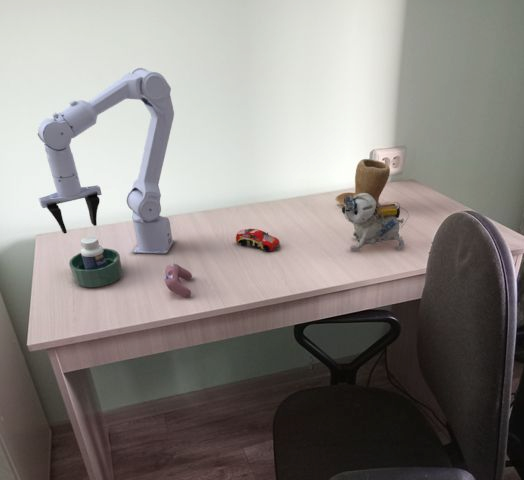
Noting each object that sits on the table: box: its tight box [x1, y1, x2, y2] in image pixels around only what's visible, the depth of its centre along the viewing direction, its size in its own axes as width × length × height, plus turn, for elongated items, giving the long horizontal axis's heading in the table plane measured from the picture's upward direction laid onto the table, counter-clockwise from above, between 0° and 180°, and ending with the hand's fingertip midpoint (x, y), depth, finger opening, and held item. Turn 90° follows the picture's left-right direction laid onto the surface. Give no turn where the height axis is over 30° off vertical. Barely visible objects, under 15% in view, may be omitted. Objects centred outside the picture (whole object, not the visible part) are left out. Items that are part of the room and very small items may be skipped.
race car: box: [235, 228, 281, 253], centre depth 137 cm, size 13×5×4 cm, turn 57°
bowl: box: [68, 248, 124, 288], centre depth 125 cm, size 12×12×5 cm
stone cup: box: [335, 158, 391, 213], centre depth 152 cm, size 15×12×15 cm
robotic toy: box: [341, 193, 410, 251], centre depth 131 cm, size 13×17×15 cm
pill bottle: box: [80, 236, 107, 270], centre depth 123 cm, size 5×5×10 cm
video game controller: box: [164, 262, 193, 298], centre depth 119 cm, size 10×5×7 cm, turn 5°
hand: (79, 228), depth 126 cm, fingers open, 7 cm apart
